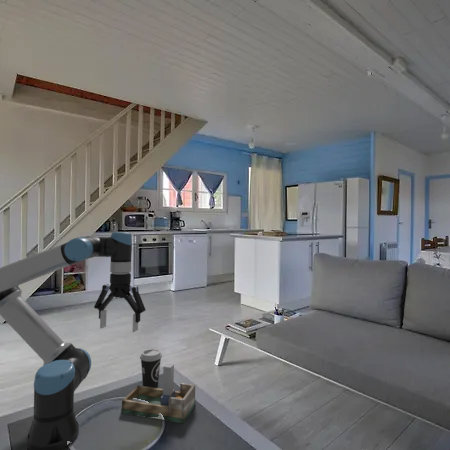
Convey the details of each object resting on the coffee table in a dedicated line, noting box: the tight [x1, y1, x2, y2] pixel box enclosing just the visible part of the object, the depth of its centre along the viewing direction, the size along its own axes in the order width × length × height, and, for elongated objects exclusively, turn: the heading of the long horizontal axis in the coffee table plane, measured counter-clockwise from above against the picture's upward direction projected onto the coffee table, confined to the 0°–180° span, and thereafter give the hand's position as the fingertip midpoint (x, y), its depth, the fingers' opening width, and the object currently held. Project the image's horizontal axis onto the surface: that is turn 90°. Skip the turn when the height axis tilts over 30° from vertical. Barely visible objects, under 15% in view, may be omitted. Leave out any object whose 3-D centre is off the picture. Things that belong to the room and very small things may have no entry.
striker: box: [161, 363, 176, 406], centre depth 122 cm, size 3×7×15 cm, turn 166°
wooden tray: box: [120, 382, 196, 425], centre depth 123 cm, size 25×13×8 cm, turn 76°
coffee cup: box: [139, 348, 163, 388], centre depth 140 cm, size 10×10×15 cm
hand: (118, 329), depth 120 cm, fingers open, 13 cm apart
